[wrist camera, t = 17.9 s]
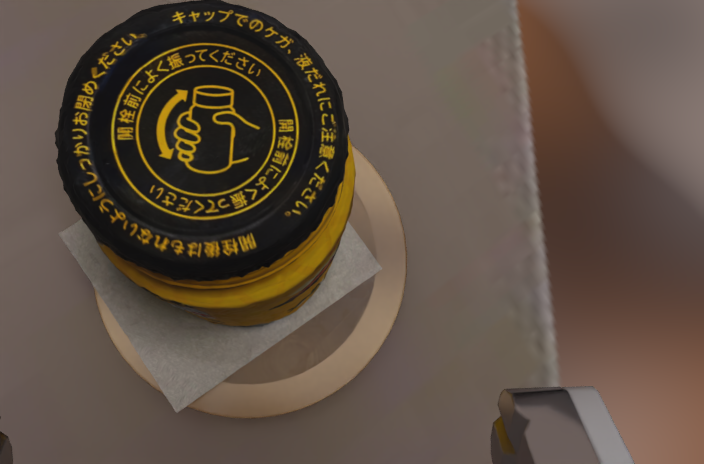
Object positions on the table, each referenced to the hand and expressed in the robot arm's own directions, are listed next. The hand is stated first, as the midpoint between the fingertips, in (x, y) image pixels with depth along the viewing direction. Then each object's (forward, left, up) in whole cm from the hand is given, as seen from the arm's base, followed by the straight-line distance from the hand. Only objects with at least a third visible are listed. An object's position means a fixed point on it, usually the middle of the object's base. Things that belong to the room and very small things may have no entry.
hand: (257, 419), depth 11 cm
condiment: (+5, +2, -12) cm, 13 cm away
